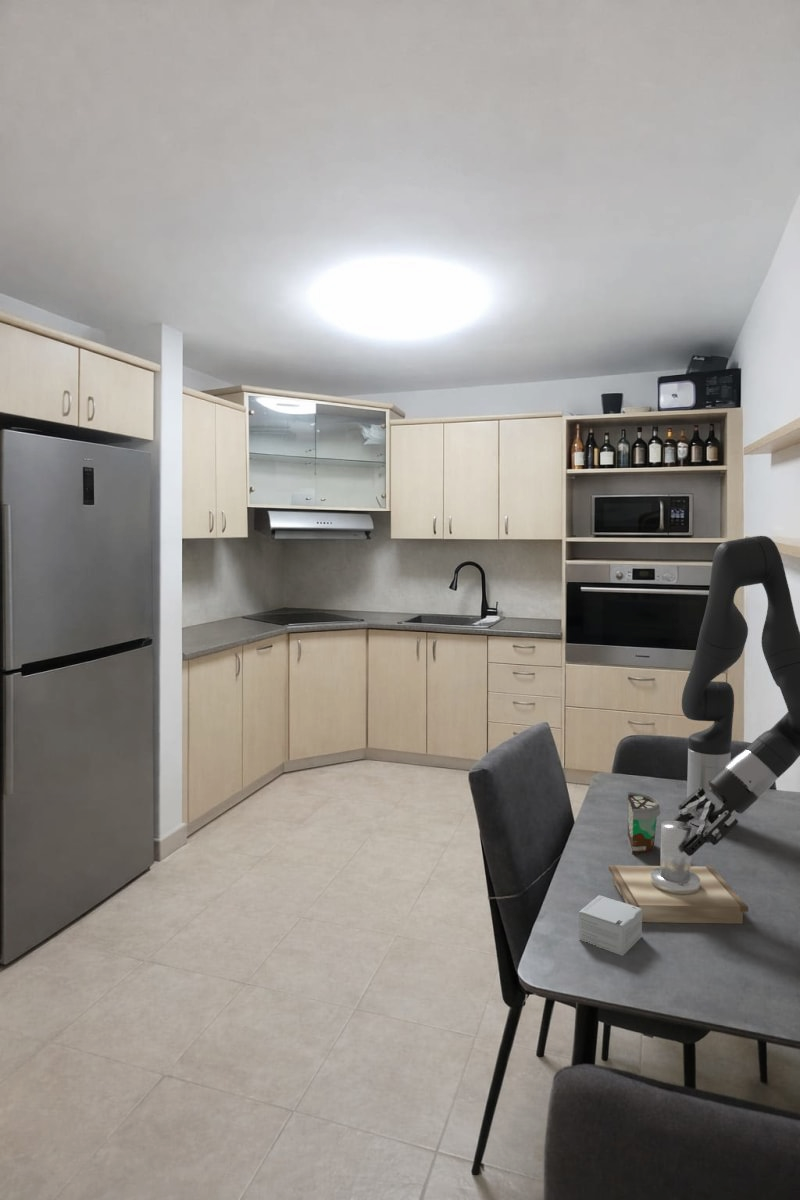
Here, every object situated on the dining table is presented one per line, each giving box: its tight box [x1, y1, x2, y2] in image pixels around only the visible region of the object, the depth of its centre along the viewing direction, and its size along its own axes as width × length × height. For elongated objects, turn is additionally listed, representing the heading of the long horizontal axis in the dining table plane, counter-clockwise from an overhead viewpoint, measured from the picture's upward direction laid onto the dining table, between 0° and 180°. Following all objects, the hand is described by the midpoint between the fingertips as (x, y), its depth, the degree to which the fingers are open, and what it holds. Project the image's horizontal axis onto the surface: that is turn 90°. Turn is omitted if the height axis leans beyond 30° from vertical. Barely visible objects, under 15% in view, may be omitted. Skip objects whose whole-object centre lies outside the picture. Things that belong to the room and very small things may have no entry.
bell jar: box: [651, 819, 700, 895], centre depth 134 cm, size 8×8×11 cm
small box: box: [578, 894, 643, 957], centre depth 122 cm, size 8×8×5 cm
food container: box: [626, 791, 661, 855], centre depth 159 cm, size 12×6×10 cm, turn 168°
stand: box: [608, 864, 749, 925], centre depth 135 cm, size 16×20×3 cm
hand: (676, 842), depth 134 cm, fingers open, 8 cm apart
